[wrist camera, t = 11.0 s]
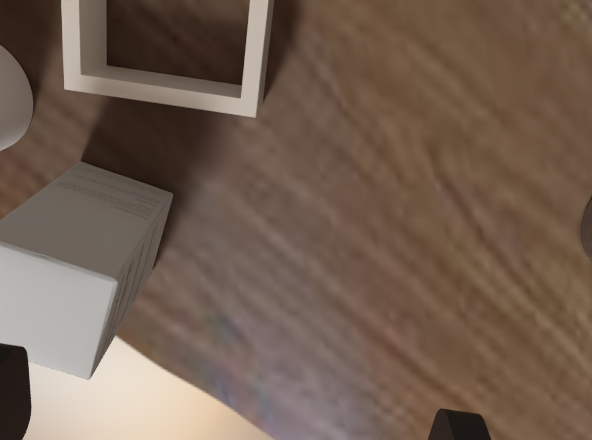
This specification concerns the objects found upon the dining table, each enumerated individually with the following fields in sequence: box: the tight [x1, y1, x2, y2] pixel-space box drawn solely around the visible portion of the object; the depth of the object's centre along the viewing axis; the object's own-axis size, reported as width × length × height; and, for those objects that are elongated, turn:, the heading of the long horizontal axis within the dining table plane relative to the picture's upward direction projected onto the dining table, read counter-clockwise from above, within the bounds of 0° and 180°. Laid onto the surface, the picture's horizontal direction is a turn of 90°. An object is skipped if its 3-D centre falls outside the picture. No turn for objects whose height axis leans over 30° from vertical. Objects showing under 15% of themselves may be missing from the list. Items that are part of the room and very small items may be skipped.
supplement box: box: [0, 161, 173, 380], centre depth 34 cm, size 7×7×13 cm
